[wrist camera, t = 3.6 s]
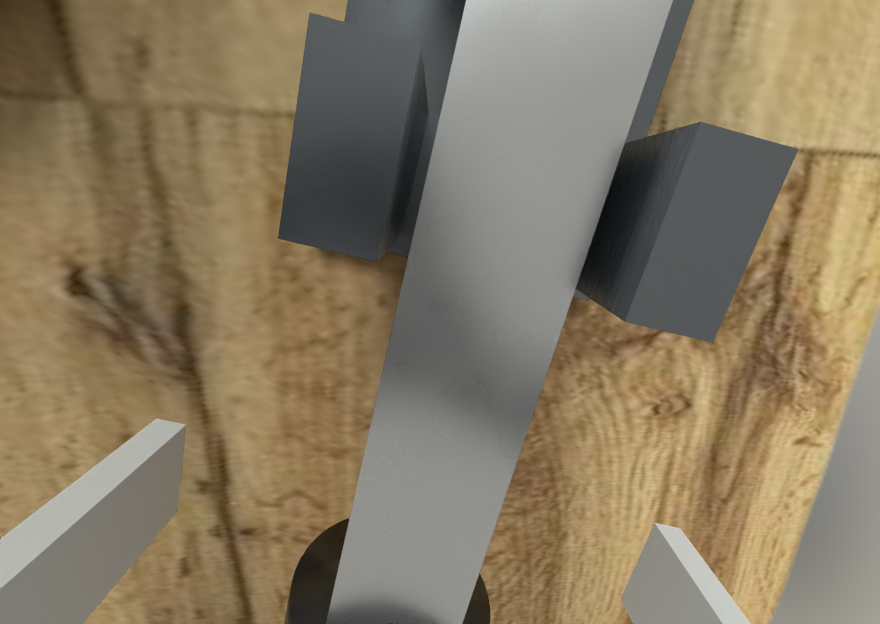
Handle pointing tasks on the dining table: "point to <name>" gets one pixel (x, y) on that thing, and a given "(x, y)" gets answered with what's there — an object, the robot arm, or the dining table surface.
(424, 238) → the shaft
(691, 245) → the bracket
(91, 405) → the dining table surface
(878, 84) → the dining table surface
